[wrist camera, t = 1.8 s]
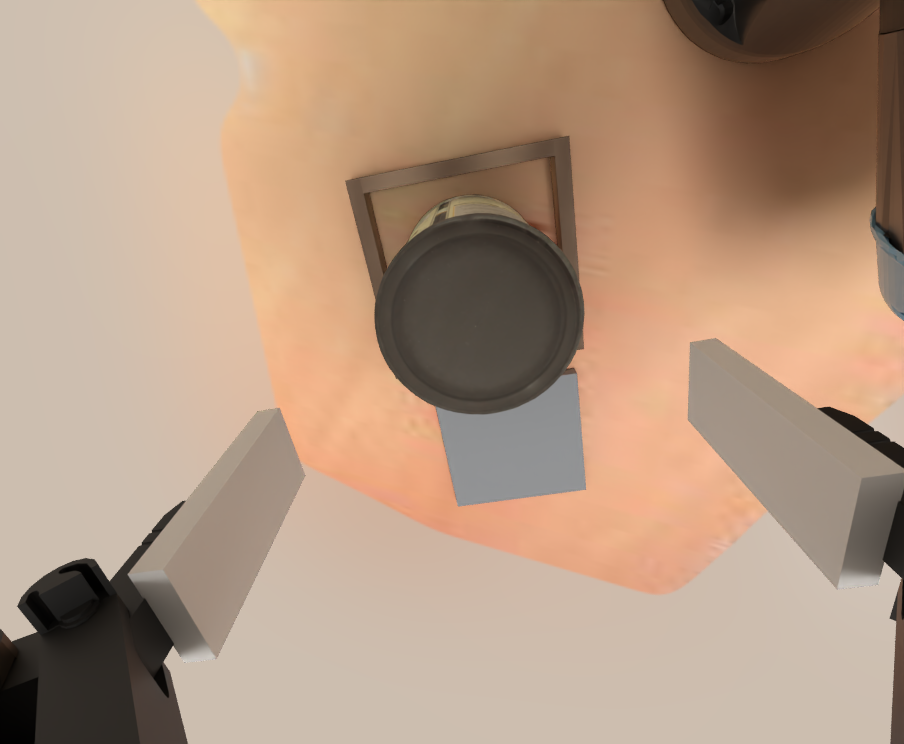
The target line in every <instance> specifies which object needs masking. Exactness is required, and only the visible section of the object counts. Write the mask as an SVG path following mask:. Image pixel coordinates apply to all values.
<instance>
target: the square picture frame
mask: <svg viewBox="0 0 904 744" xmlns="http://www.w3.org/2000/svg"><path fill="white" fill-rule="evenodd" d="M546 157H550V166H551V178H552V189H553V201H554V212H555V224H556V235H557V246H558V247H559V248H560V249H561V251H562V252H563V253H564V255H565V256H566V257H567V259H568V260H569V262H570V263H571V265H572V267H573V268H574V270H575V272H576V275H577V278H578V281H579V270H578V256H577V242H576V228H575V213H574V199H573V185H572V170H571V156H570V142H569V136H566V137H561V138H556V139H551V140H546V141H541V142H536V143H531V144H526V145H521V146H516V147H511V148H506V149H501V150H496V151H491V152H486V153H481V154H476V155H471V156H466V157H461V158H456V159H451V160H447V161H442V162H437V163H432V164H427V165H422V166H417V167H412V168H407V169H402V170H397V171H392V172H387V173H382V174H377V175H372V176H367V177H362V178H357V179H352V180H347V181H345V182H346V186H347V190H348V194H349V198H350V201H351V205H352V209H353V213H354V217H355V221H356V225H357V229H358V233H359V237H360V240H361V244H362V248H363V252H364V256H365V260H366V264H367V268H368V272H369V276H370V279H371V283H372V287H373V291H374V295H375V299H376V297H377V293H378V289H379V286H380V283H381V280H382V278H383V276H384V274H385V272H386V270H387V266H386V262H385V258H384V254H383V250H382V245H381V241H380V237H379V233H378V229H377V225H376V220H375V216H374V212H373V208H372V204H371V200H370V195H369V192H374V191H379V190H384V189H389V188H394V187H399V186H404V185H409V184H414V183H420V182H425V181H430V180H435V179H440V178H445V177H450V176H455V175H460V174H465V173H470V172H475V171H480V170H485V169H491V168H496V167H501V166H506V165H511V164H516V163H521V162H526V161H531V160H536V159H541V158H546ZM580 349H584V342H583V330H582V336H581V339H580V342H579V345H578V348H577V350H580ZM395 377H396V376H395ZM396 379H398V378H397V377H396Z"/></svg>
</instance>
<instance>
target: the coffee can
mask: <svg viewBox="0 0 904 744" xmlns="http://www.w3.org/2000/svg"><path fill="white" fill-rule="evenodd" d="M583 322H584V301H583V295H582V290H581V286H580V283H579V281H578V278H577V275H576V272H575V270H574V268H573V267H572V265H571V263H570V262H569V260H568V259H567V257H566V256H565V255H564V253H563V252H562V251H561V249H560V248H559V247H558V246H557V245H556V244H555V243H554V242H553V241H551V240H550V239H549V238H548V237H547V236H546V235H545V234H543V233H542V232H540V231H539V230H537V229H536V228H534V227H532V226H530V225H529V224H528V223H527V222H526V221H525V220H524V219H523V217H522V216H521V215H520V214H519V213H518V212H516V211H515V210H514V209H513V208H512V207H510V206H508V205H507V204H505V203H504V202H502V201H499V200H497V199H494V198H491V197H487V196H482V195H463V196H457V197H453V198H450V199H448V200H445V201H443V202H441V203H439V204H438V205H436V206H435V207H433V208H432V209H431V210H429V211H428V212H427V213H426V214H425V215H424V216H423V217H422V218H421V220H420V221H419V222H418V224H417V225H416V227H415V228H414V230H413V232H412V234H411V236H410V239H409V240H408V242H407V243H406V245H405V246H404V247H403V248H402V249H401V250H400V251H399V252H398V254H397V255H396V256H395V257H394V259H393V260H392V262H391V263H390V265H389V267H388V268H387V270H386V272H385V274H384V276H383V278H382V280H381V283H380V286H379V289H378V293H377V297H376V303H375V329H376V335H377V340H378V343H379V347H380V350H381V352H382V355H383V357H384V359H385V361H386V363H387V365H388V366H389V368H390V369H391V371H392V372H393V373H394V375H395V376H396V377H397V378H398V379H399V381H400V382H401V383H402V384H403V385H404V386H405V387H406V388H408V389H409V390H410V391H411V392H412V393H414V394H415V395H416V396H418V397H419V398H421V399H422V400H424V401H426V402H427V403H429V404H432V405H434V406H436V407H438V408H441V409H444V410H447V411H452V412H456V413H463V414H472V415H473V414H482V415H484V414H493V413H499V412H503V411H507V410H511V409H514V408H516V407H519V406H521V405H523V404H525V403H527V402H529V401H531V400H533V399H535V398H537V397H538V396H539V395H541V394H542V393H544V392H545V391H546V390H547V389H549V388H550V387H551V386H552V385H553V384H554V383H555V382H556V381H557V380H558V379H559V377H560V376H561V375H562V374H563V373H564V371H565V370H566V369H567V367H568V366H569V364H570V362H571V360H572V359H573V357H574V355H575V353H576V350H577V348H578V345H579V342H580V339H581V336H582V330H583Z"/></svg>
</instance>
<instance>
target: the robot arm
mask: <svg viewBox="0 0 904 744" xmlns="http://www.w3.org/2000/svg"><path fill="white" fill-rule="evenodd" d="M664 2H665V4H666V7H667V9H668V11H669V13H670V14H671V16H672V18H673V19H674V21H675V22H676V24H677V25H678V26H679V28H680V29H681V30H682V31H683V33H684V34H685V35H686V36H687V37H688V38H689V39H690V40H691V41H692V42H694V43H695V44H696V45H698V46H699V47H700V48H702V49H703V50H705V51H707V52H709V53H711V54H712V55H715V56H717V57H720V58H723V59H726V60H729V61H735V62H742V63H762V62H769V61H775V60H779V59H783V58H786V57H789V56H792V55H796V54H799V53H802V52H805V51H808V50H811V49H814V48H816V47H819V46H821V45H823V44H825V43H827V42H829V41H831V40H833V39H835V38H837V37H838V36H840V35H842V34H844V33H845V32H847V31H849V30H850V29H852V28H853V27H855V26H856V25H858V24H859V23H860V22H862V21H863V20H864V19H866V18H867V17H868V16H870V15H871V14H872V13H873V12H874V11H875V10H877V9H878V8H879V7H880V31H879V43H878V107H877V172H876V207H875V208H874V209H873V210H872V211H871V216H870V227H871V232H872V234H873V236H874V238H875V240H876V248H877V264H878V279H879V287H880V291H881V294H882V296H883V298H884V300H885V302H886V304H887V305H888V306H889V308H890V309H891V310H892V311H893V312H894V313H895V314H896V315H897V316H898V317H899V318H901V319H902V320H903V321H904V0H664ZM688 421H689V422H690V423H691V424H692V425H693V426H694V427H695V429H696V430H697V431H698V432H699V433H700V434H701V435H702V437H703V438H704V439H705V440H706V441H707V442H708V443H709V445H710V446H711V447H712V448H713V449H714V450H715V451H716V452H717V454H718V455H719V456H720V457H721V458H722V459H723V460H724V462H725V463H726V464H727V465H728V466H729V467H730V468H731V469H732V471H733V472H734V473H735V474H736V475H737V476H738V477H739V479H740V480H741V481H742V482H743V483H744V484H745V485H746V487H747V488H748V489H749V490H750V491H751V492H752V493H753V494H754V496H755V497H756V498H757V499H758V500H759V501H760V502H761V504H762V505H763V506H764V507H765V508H766V509H767V510H768V512H769V513H771V515H772V516H773V517H774V518H775V519H776V521H777V522H778V523H779V524H780V525H781V526H782V527H783V529H785V531H786V532H787V533H788V534H789V535H790V537H791V538H792V539H793V540H794V541H795V542H796V543H797V544H798V546H799V547H800V548H801V549H802V550H803V551H804V552H805V553H806V555H807V556H808V557H809V558H810V559H811V560H812V561H813V562H814V564H815V565H816V566H817V567H818V568H819V569H820V571H821V572H822V573H823V574H824V575H825V576H826V577H827V579H828V580H829V581H830V582H831V583H832V584H833V585H834V587H835V588H836V589H846V588H855V587H864V586H873V585H878V583H879V579H880V575H881V572H882V568H883V565H884V562H885V563H886V564H888V566H890V567H891V568H892V569H893V570H894V571H895V572H896V573H897V574H898V575H899V576H900V577H901V578H902V579H901V582H900V586H899V589H898V592H897V596H896V599H895V602H894V606H893V609H892V613H891V616H890V619H893V620H895V621H896V641H895V661H894V662H895V663H894V681H893V703H892V724H891V744H904V448H903V447H902V446H900V445H898V444H897V443H895V442H891V441H890V439H889V438H888V437H886V436H885V435H883V434H882V433H880V432H878V431H874V428H872V427H871V426H869V425H868V424H866V423H865V422H863V421H862V420H860V419H858V418H857V417H855V416H853V415H850V414H848V413H845V412H842V411H840V410H837V409H834V408H831V407H823V408H816V407H814V406H813V405H811V404H810V403H809V402H807V401H806V400H804V399H803V398H801V397H800V396H798V395H797V394H796V393H794V392H793V391H791V390H790V389H788V388H787V387H785V386H784V385H783V384H781V383H780V382H778V381H777V380H775V379H774V378H773V377H771V376H770V375H768V374H767V373H765V372H764V371H762V370H761V369H760V368H758V367H757V366H755V365H754V364H752V363H751V362H750V361H748V360H747V359H745V358H744V357H742V356H741V355H739V354H738V353H737V352H735V351H734V350H732V349H731V348H729V347H728V346H726V345H725V344H724V343H722V342H721V341H719V340H718V339H716V338H715V339H708V340H702V341H696V342H690V362H689V395H688ZM304 477H305V473H304V471H303V468H302V465H301V463H300V460H299V458H298V455H297V452H296V450H295V447H294V444H293V442H292V439H291V437H290V434H289V431H288V429H287V426H286V423H285V421H284V418H283V416H282V413H281V410H280V408H276V409H270V410H263V411H257V413H256V414H255V415H254V416H253V418H252V419H251V420H250V422H249V423H248V424H247V425H246V426H245V428H244V429H243V430H242V431H241V433H240V434H239V435H238V437H237V438H236V439H235V440H234V441H233V443H232V444H231V445H230V446H229V448H228V449H227V450H226V451H225V453H224V454H223V455H222V456H221V458H220V459H219V460H218V461H217V463H216V464H215V465H214V467H213V468H212V469H211V471H210V472H209V473H208V474H207V475H206V477H205V478H204V479H203V480H202V482H201V483H200V484H199V485H198V487H197V488H196V489H195V490H194V492H193V493H192V494H191V495H190V497H189V498H188V499H187V500H186V501H182V502H181V503H180V504H178V505H177V506H175V507H174V508H173V509H172V510H170V511H169V512H168V513H167V514H165V515H164V516H163V518H162V519H161V520H160V521H159V522H158V524H157V525H156V526H155V527H154V528H153V530H152V533H150V534H149V535H148V536H147V537H146V538H145V539H144V540H143V542H142V545H141V546H139V547H138V548H137V549H136V550H135V551H134V553H133V554H132V555H131V556H130V557H129V559H128V560H127V561H126V562H125V563H124V565H123V566H122V567H121V568H120V570H119V571H118V572H117V573H116V574H115V576H114V577H113V578H112V579H111V580H110V582H109V580H108V579H107V578H106V576H105V574H104V573H103V571H102V570H101V568H100V567H99V565H98V564H97V562H96V561H95V560H94V559H87V558H85V559H80V560H76V561H72V562H70V563H67V564H65V565H63V566H61V567H58V568H57V569H55V570H53V571H52V572H50V573H48V574H47V575H45V576H43V578H41V579H40V580H39V581H37V582H36V583H35V584H33V585H32V586H31V587H30V588H29V589H28V590H27V592H26V593H25V594H24V595H23V596H22V597H21V599H20V602H19V604H18V606H17V607H18V608H19V609H20V610H21V612H22V613H23V614H24V615H25V617H26V618H27V619H28V620H29V622H30V623H31V624H32V625H33V626H34V628H35V629H36V630H37V632H36V633H34V634H31V635H28V636H26V637H23V638H20V639H17V640H15V641H12V642H11V641H10V639H9V638H8V637H7V636H6V635H5V634H4V632H3V631H2V630H1V629H0V744H188V743H187V739H186V734H185V730H184V726H183V723H182V718H181V714H180V710H179V706H178V702H177V698H176V694H175V690H174V687H173V682H172V678H171V674H170V671H169V670H168V668H167V667H166V665H165V664H164V660H165V658H166V657H167V655H168V653H169V651H170V650H171V648H172V646H174V647H175V649H176V650H177V652H178V654H179V655H180V657H181V658H182V660H183V661H184V663H186V662H195V661H204V660H213V659H217V657H218V655H219V653H220V651H221V649H222V646H223V645H224V642H225V640H226V638H227V636H228V634H229V632H230V630H231V628H232V626H233V624H234V622H235V619H236V618H237V616H238V614H239V611H240V609H241V607H242V605H243V603H244V601H245V599H246V597H247V595H248V593H249V591H250V589H251V587H252V585H253V582H254V581H255V578H256V576H257V574H258V572H259V570H260V568H261V566H262V564H263V562H264V560H265V558H266V556H267V554H268V552H269V549H270V547H271V545H272V543H273V541H274V539H275V537H276V535H277V533H278V531H279V529H280V527H281V525H282V523H283V521H284V519H285V516H286V514H287V512H288V510H289V508H290V506H291V504H292V502H293V500H294V498H295V496H296V494H297V492H298V490H299V488H300V485H301V483H302V481H303V479H304Z"/></svg>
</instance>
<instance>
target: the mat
mask: <svg viewBox="0 0 904 744" xmlns="http://www.w3.org/2000/svg"><path fill="white" fill-rule="evenodd" d="M436 410H437V415H438V419H439V424H440V428H441V433H442V437H443V442H444V446H445V451H446V455H447V460H448V464H449V468H450V473H451V477H452V482H453V486H454V491H455V495H456V500H457V504H458V506H465V505H473V504H481V503H488V502H496V501H503V500H511V499H518V498H526V497H533V496H541V495H549V494H556V493H564V492H571V491H579V490H586V483H585V470H584V458H583V445H582V432H581V419H580V407H579V394H578V381H577V373H576V371H575V369H574V368H573V369H566V370H565V371H564V373H563V374H562V375H561V376H560V377H559V379H558V380H557V381H556V382H555V383H554V384H553V385H552V386H551V387H550V388H549V389H547V390H546V391H545V392H544V393H542V394H541V395H539V396H538V397H537V398H535V399H533V400H531V401H529V402H527V403H525V404H523V405H521V406H519V407H516V408H514V409H511V410H507V411H503V412H499V413H493V414H484V415H482V414H473V415H472V414H463V413H456V412H452V411H447V410H444V409H441V408H438V407H436Z"/></svg>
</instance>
